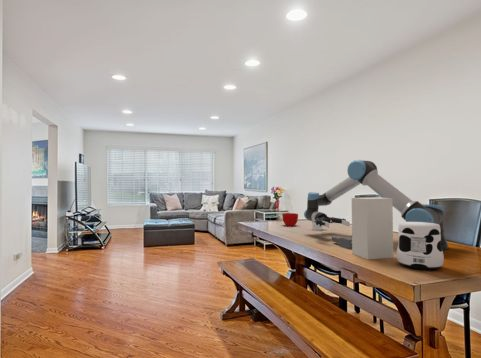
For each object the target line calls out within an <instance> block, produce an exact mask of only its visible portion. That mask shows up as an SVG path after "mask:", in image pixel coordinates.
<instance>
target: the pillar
mask: <svg viewBox="0 0 481 358" xmlns="http://www.w3.org/2000/svg"><path fill="white" fill-rule="evenodd" d="M393 209H394V208H393V205H392V198H382V197H375V196H374V197H351V238H352V249H351V250H352V251H351V255H355V256H357V257H359V258H363V259H365V260H377V259H378V260H380V259H381V260H382V259H390V258H391V259H392V258H394V218H393V217H394V216H393V215H394V214H393V213H394V212H393Z"/></svg>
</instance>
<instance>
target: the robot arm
mask: <svg viewBox="0 0 481 358" xmlns="http://www.w3.org/2000/svg"><path fill="white" fill-rule="evenodd" d="M346 171H347V175H348V177H346V179H344V180H342V181H341V182H339V183H338V184H336V185H335V186H333V187H332V188H331V189H329V190H327V191H326V192H324V193H322V194H320V193H319V192H316V191H315V192H314V191H313V192H312V191H311V192H308V193H307V200H306V201H307V202H306V203H307V204H306V206H307V207H306V209H305V211H304V212H303V216H304V218H305V219H306V220H307V221H309V222H312V221H313V222H315V223H316V225H318V224H320V226H322V227H326V228H328V229H329V228H330V224H339V225H340V224H341V225H343V226H345V227H350V221H349V220H347V219H345V218H340V217H333V216H332V217H330V216H328V215H327V214H326V213H324V212H322V213H321V211H319V207H324V206H325V207H326V206H328V205H329V206H330V205H331V204H332V202H333V201H335V200H337V199H338V198H340V197H341V196H344V195H345V194H346V193H348V192H349V191H351V190H352V189H354V188H357V186H359V185H362V186H365V187H366V186H367V187H369V188H370V189H371V190H373V192H375V193H376V194H377V195H378V196H380V198H392V205H393V207H394V208H393V209H396V211H398V212H399V213H400V215H401V216H400V217H401V218H402V219H403V220H404V221H405V222H427V223H435V224H439V225H440V229H441V233H440V234H441V249H442V251H444V250H448V249H449V243H448V241H447V239H446V238H447V237H446V235H445V219H444V217H445V214H444V213H445V210H444V206H443V205H439V204H426V203H425V204H424V203H423V204H422V203H420V202H419V201H418V200H417V201H416V200H414V201H413V200H412V199H411V198H410V197H408V196H407V195H406V194H404V193H403V192H402V191H400V190H399V189H398V188H397V187H395V186H394V185H393V184H391V183H390V182H388V181H387V180H386V179H385V178H384V177H382V176H381V175H380V174H379V172H378V167H377V165H376V164H375V163H374V162H373V161H371V160H364V159H363V160H362V159H355V160H353V161H351V162H350V163H349V164H348V165H347V170H346Z"/></svg>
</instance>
